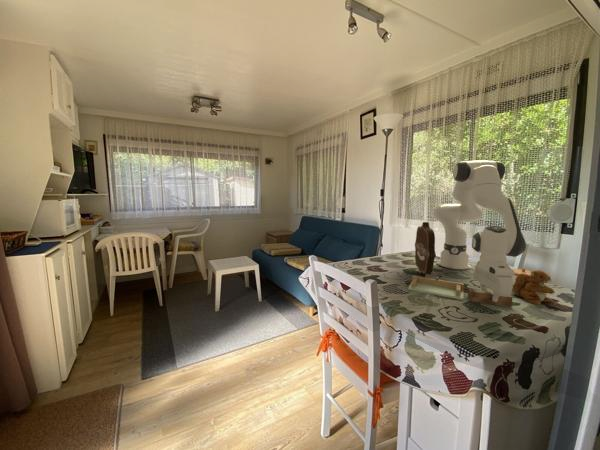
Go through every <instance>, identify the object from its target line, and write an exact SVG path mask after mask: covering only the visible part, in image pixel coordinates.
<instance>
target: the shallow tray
mask: <svg viewBox="0 0 600 450" xmlns="http://www.w3.org/2000/svg"><path fill="white" fill-rule="evenodd" d="M407 289H408V291H414V292H419V293H423V294H428V295H433V296H434V295H435V296H439V297H444V298H451V299H455V300H459V301H460V300H461V301H464V299H465V297H464V291H465V290H464V289H465V283H464V282H463V283H462V282H456V281H450V280H443V279H439V277H438V276H437V277H435V278H431V277H426V276H420V275H414V274H413V275H412V276H411V282H410V284H409V285H408V288H407Z"/></svg>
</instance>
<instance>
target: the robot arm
mask: <svg viewBox="0 0 600 450" xmlns="http://www.w3.org/2000/svg"><path fill="white" fill-rule="evenodd" d="M505 174H506V166H505V163H503V162H502V161H499V160H492V161H491V160H484V159H483V160H481V159H480V160H469V161H466V160H464V161H459V162H457V163H456V164H454V167H453V169H452V177H453V180H455V181H456V182H455V185H454V188H453V190H452V191H453V192H452V197H453V199H454V200H455V201H457V202H459V203H443V204H438V205H437V206H436V207H435V209H434V212H433V214H434V218H435V219H436V220H437V221H438V222H440V223H441V225H442V227H443V228H444V233H445V235H444V236H445V239H444V243H443V250H442V251H440V255H439V256H440V257H439V261H436V263H435V264H436V265H439V266H441V267H443V268H447V269H454V270H469V269H470V270H471V269H473V268H472V265H470V263H469V261H470V260H469V257H470V255H469V253H467V248H468V247H467V235H468V234H467V231H466V230H465V229H463V228H461V227H459V226H458V223H473V222H478V221H480V220H481V219H482V218H483V214H484V211H483V209H487V210H490V211H493V212H496V213H497V214H499V215H500V216H501V217H502V219H503V224H504V227H502V226H496V225H490V226H485V227H484V228H483V231H480V232H479V231H478V232H476V233H474V235H472V239H471V248H472V249H473V251H475V252H477V253H479V254H480V255H479V260H478V261H477V262H476V264H475V266H474V269H473V273H472V277H473V280H474V281H476V282H478V283H479V286H480V287H479V288H480V290H487V288H488V289H490V291H493V293H494V295H493V296H491V300H492V301H494V302H497V301H498V298H499V296H500V295H501V296H510V295H511V296H512V294H513V293H512V292H513V290H512V288H513V287H514V285H513V278H512V277H511V276H514V274H515V272H514V271H513V270H512V269H513V268H511V267H510V266H509V264H508V263H507V262H508V261H507V260H508V259H507V257H511V258H513V257H514V258H516V257H518V256H521V255H522V254H524V252H525V251H526V249H527V243H526V240H525V237H524V235H523V233H522V229H521V227H520V223H519V220H518V216H517V212H516V210H515V206H514V204H513V202H512V199H511V198H508V197H507V196H506V195H505V194H504V192H503V191H502V184H501V183H502V182H501V180H502V179H503V178H504V176H505ZM487 291H488V290H487Z"/></svg>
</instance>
